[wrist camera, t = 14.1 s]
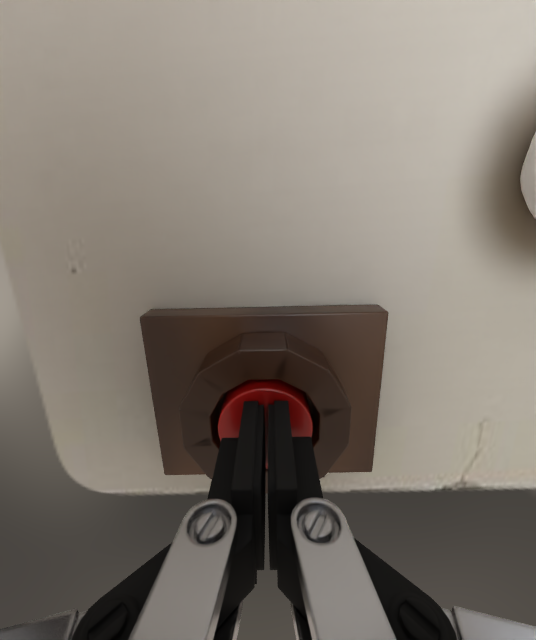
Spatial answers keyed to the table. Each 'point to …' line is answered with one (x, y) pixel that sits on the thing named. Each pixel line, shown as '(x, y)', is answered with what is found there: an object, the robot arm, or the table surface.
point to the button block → (266, 376)
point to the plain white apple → (529, 177)
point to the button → (265, 407)
